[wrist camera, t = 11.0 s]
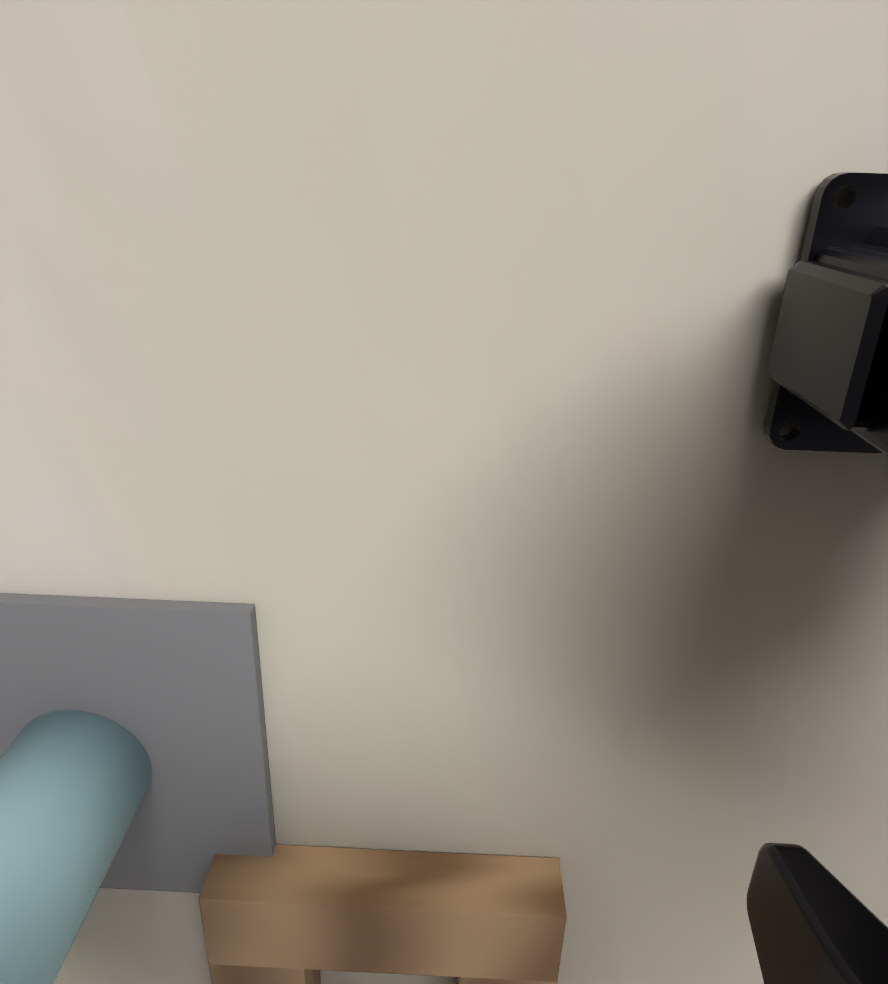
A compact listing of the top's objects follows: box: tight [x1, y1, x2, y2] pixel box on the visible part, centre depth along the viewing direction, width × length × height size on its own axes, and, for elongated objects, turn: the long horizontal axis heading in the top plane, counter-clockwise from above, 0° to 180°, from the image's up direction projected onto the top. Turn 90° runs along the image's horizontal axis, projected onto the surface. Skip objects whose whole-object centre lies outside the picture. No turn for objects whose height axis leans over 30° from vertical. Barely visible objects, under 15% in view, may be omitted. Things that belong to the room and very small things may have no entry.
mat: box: [0, 593, 276, 893], centre depth 24 cm, size 12×12×1 cm
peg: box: [0, 710, 152, 984], centre depth 20 cm, size 4×4×9 cm
